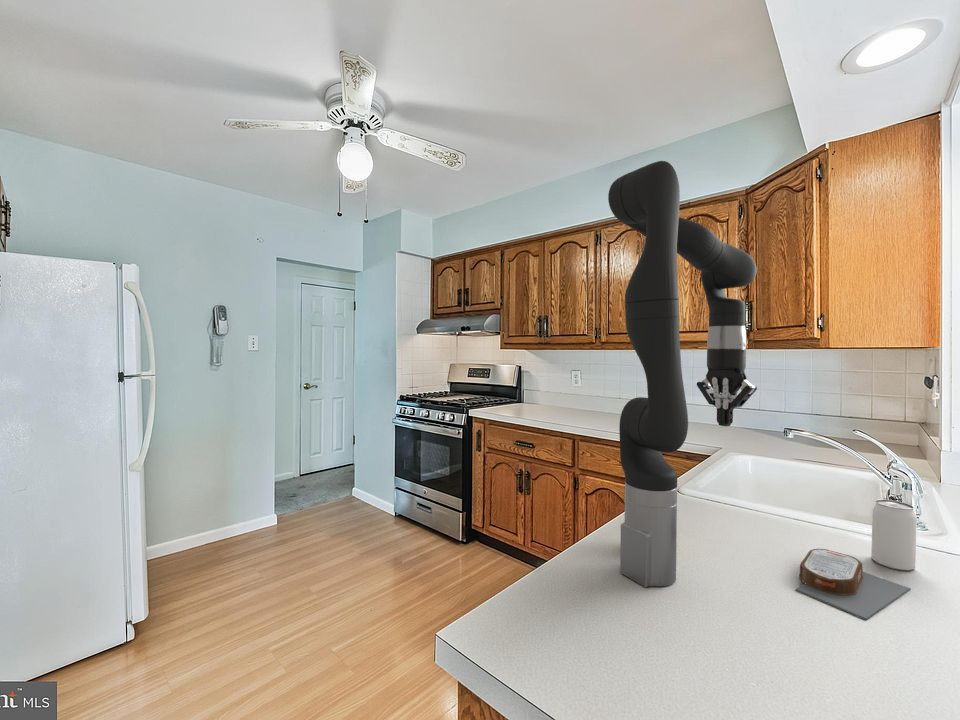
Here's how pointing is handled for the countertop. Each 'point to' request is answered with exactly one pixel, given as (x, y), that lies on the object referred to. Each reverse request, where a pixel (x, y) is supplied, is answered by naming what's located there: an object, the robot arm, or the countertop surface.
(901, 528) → the can
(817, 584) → the tin
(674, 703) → the countertop surface
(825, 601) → the mat
